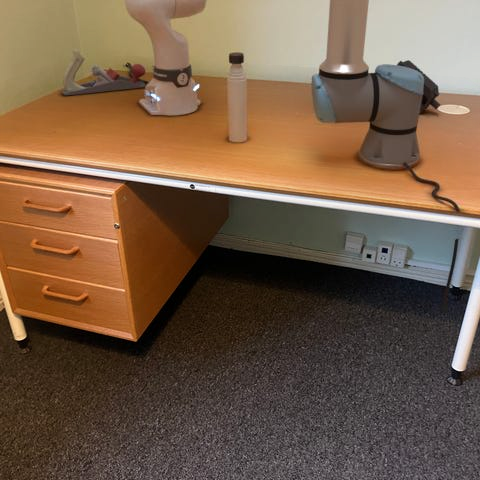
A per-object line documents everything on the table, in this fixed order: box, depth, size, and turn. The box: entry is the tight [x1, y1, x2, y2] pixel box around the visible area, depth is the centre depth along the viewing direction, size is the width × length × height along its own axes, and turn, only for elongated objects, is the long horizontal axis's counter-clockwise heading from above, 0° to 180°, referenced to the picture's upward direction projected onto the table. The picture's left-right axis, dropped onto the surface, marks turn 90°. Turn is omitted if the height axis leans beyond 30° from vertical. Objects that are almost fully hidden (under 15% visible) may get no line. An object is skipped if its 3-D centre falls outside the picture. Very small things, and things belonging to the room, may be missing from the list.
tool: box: [396, 59, 442, 114], centre depth 170 cm, size 6×19×15 cm, turn 51°
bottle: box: [226, 63, 248, 143], centre depth 147 cm, size 5×5×23 cm
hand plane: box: [61, 48, 146, 96], centre depth 194 cm, size 7×31×15 cm, turn 107°
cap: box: [228, 51, 245, 65], centre depth 141 cm, size 4×4×2 cm
